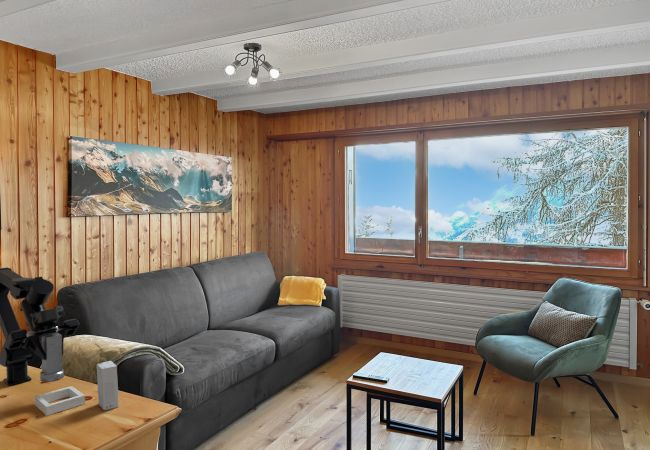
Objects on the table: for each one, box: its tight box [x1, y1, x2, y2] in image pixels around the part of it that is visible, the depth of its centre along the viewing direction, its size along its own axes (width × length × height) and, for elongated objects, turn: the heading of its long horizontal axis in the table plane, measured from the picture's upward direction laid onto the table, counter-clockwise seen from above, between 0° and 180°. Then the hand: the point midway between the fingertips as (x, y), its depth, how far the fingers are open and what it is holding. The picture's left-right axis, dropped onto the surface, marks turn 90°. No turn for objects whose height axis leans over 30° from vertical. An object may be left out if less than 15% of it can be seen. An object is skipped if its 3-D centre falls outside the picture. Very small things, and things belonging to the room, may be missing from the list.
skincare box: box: [96, 360, 120, 411], centre depth 132 cm, size 6×4×12 cm
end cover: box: [39, 332, 65, 383], centre depth 135 cm, size 6×6×13 cm
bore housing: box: [34, 385, 86, 417], centre depth 133 cm, size 10×10×2 cm
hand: (53, 357), depth 134 cm, fingers closed on end cover, 4 cm apart
